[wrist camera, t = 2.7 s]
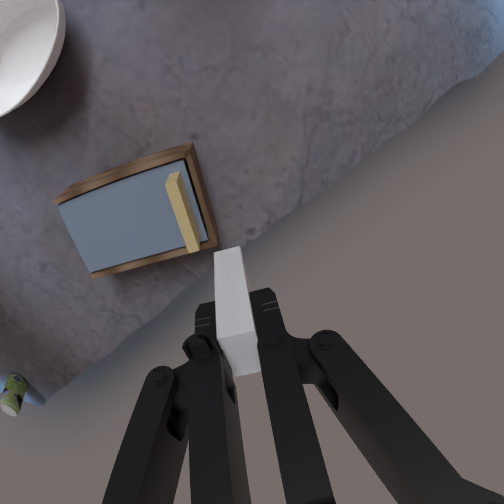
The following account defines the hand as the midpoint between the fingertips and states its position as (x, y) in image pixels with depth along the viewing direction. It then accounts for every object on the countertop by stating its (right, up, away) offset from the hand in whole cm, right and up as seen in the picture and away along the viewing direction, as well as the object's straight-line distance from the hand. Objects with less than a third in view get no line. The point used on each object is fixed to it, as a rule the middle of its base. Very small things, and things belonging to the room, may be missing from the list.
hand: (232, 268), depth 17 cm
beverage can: (-62, -33, +36) cm, 78 cm away
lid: (-14, +5, +16) cm, 22 cm away
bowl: (-29, +28, +5) cm, 41 cm away
